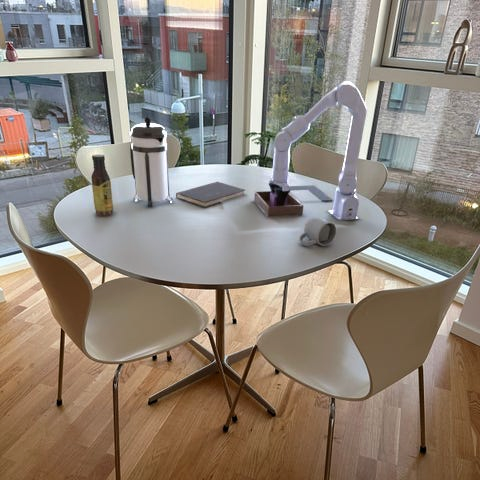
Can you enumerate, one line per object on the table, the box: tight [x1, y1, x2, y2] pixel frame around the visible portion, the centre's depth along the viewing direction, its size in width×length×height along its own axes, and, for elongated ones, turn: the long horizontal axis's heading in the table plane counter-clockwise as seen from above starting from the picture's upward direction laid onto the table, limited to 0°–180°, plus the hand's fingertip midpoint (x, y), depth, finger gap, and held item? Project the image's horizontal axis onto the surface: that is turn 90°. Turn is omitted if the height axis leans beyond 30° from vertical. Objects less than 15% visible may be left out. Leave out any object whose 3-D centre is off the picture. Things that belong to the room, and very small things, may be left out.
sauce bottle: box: [91, 154, 114, 217], centre depth 158 cm, size 7×6×20 cm
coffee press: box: [129, 116, 174, 208], centre depth 169 cm, size 17×16×30 cm
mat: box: [289, 185, 333, 203], centre depth 191 cm, size 20×14×1 cm
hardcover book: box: [175, 181, 246, 209], centre depth 183 cm, size 16×23×2 cm
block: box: [269, 193, 287, 207], centre depth 172 cm, size 5×5×5 cm
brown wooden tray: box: [254, 190, 304, 218], centre depth 173 cm, size 18×13×4 cm
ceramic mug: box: [299, 216, 337, 247], centre depth 146 cm, size 11×8×8 cm
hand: (277, 204), depth 173 cm, fingers closed on block, 5 cm apart
